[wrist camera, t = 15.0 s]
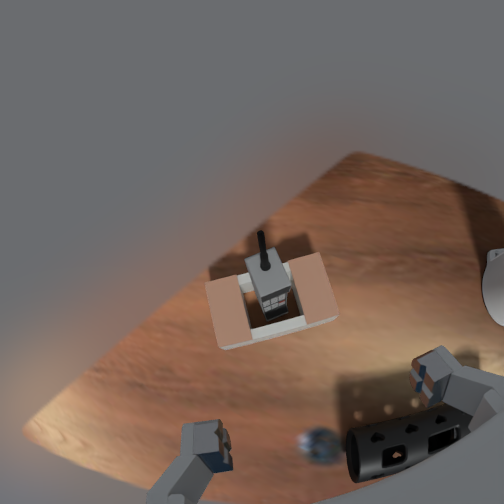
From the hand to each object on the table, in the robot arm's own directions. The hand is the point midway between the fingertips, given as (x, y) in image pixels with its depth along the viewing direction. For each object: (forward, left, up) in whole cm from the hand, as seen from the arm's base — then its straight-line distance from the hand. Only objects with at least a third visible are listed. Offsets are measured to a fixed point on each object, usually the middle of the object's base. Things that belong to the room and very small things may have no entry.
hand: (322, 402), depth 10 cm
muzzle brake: (-19, +17, -36) cm, 44 cm away
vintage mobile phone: (0, -13, -36) cm, 38 cm away
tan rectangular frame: (0, -12, -36) cm, 38 cm away
